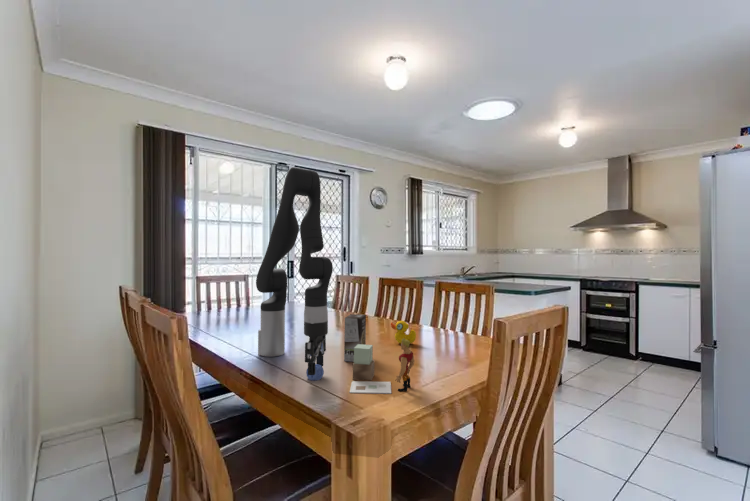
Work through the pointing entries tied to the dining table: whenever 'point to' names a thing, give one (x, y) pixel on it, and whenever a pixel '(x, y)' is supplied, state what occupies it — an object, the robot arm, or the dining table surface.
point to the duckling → (402, 328)
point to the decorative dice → (316, 373)
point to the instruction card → (370, 387)
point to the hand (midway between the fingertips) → (315, 370)
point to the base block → (363, 371)
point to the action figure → (405, 364)
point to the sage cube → (363, 354)
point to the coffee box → (354, 334)
